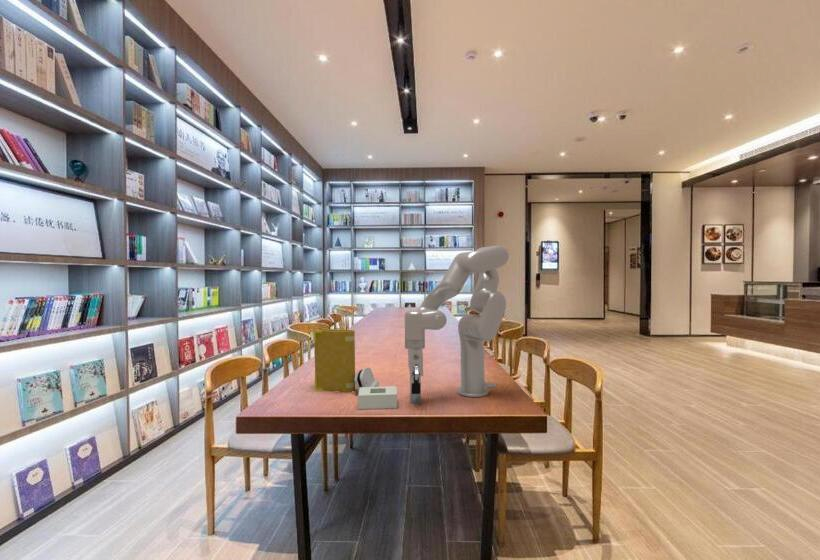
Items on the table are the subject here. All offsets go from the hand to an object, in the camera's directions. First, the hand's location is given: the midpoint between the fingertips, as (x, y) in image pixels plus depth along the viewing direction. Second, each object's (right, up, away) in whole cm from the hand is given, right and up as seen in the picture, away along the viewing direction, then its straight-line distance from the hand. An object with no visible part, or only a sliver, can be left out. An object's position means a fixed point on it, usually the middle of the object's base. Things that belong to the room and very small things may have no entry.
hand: (415, 389), depth 142 cm
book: (-33, -5, +18) cm, 38 cm away
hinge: (-20, -5, +17) cm, 27 cm away
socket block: (-14, -5, -1) cm, 15 cm away
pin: (0, -5, 0) cm, 5 cm away
